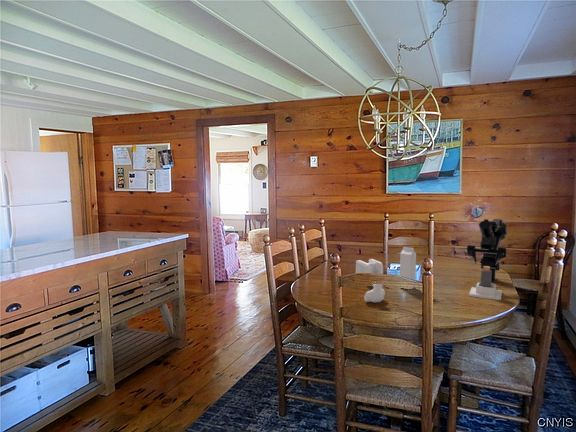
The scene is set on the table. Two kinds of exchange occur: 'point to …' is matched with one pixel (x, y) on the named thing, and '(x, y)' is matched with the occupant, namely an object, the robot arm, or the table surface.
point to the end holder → (486, 292)
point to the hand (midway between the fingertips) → (485, 264)
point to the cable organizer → (369, 267)
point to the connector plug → (486, 276)
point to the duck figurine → (375, 294)
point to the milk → (408, 263)
